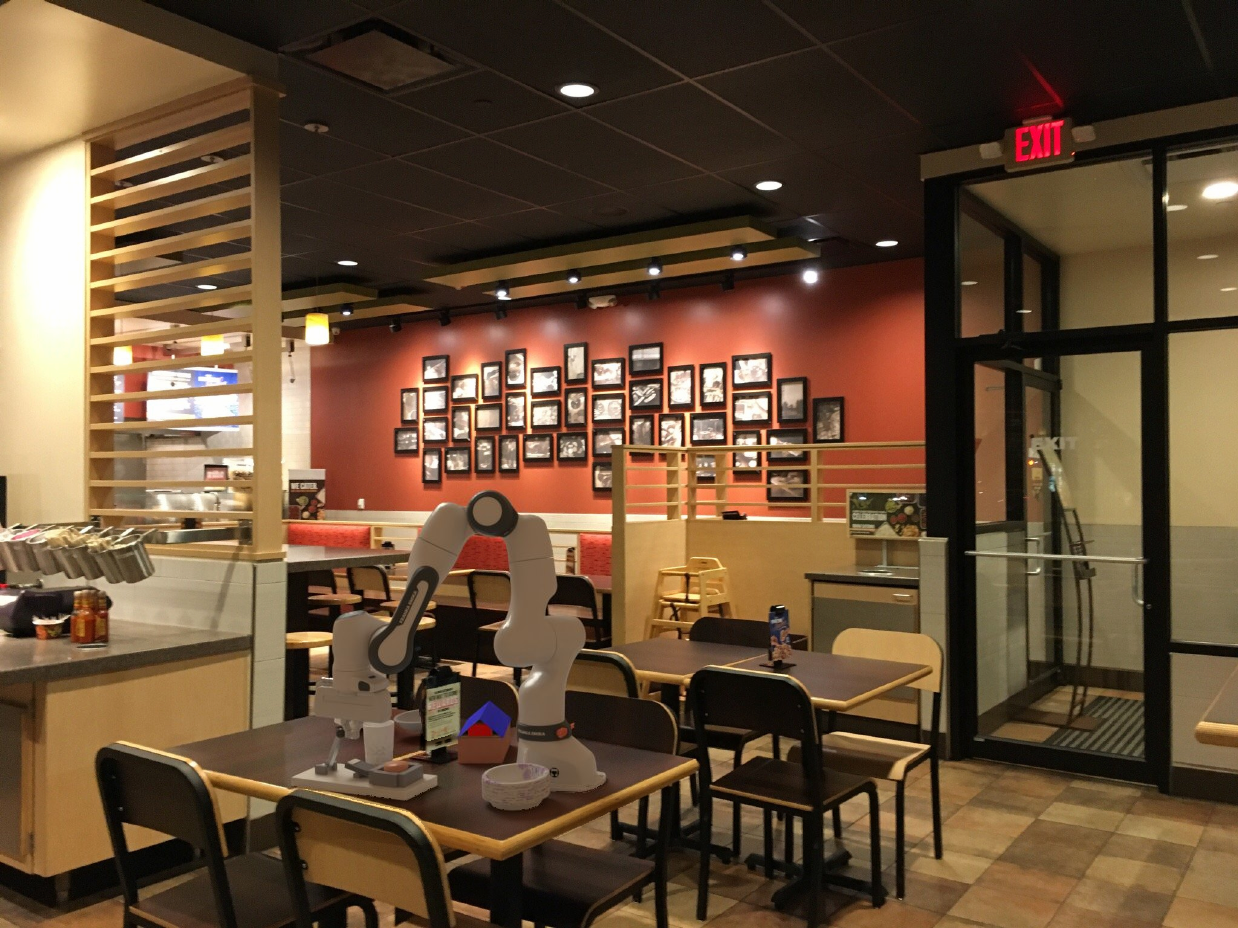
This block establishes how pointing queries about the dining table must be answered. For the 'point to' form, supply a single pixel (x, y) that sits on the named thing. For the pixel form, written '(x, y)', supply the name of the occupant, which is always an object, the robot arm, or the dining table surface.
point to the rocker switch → (359, 766)
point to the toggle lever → (335, 748)
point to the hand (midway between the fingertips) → (352, 737)
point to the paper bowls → (516, 785)
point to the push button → (396, 766)
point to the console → (367, 781)
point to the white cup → (378, 742)
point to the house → (485, 736)
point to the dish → (409, 721)
